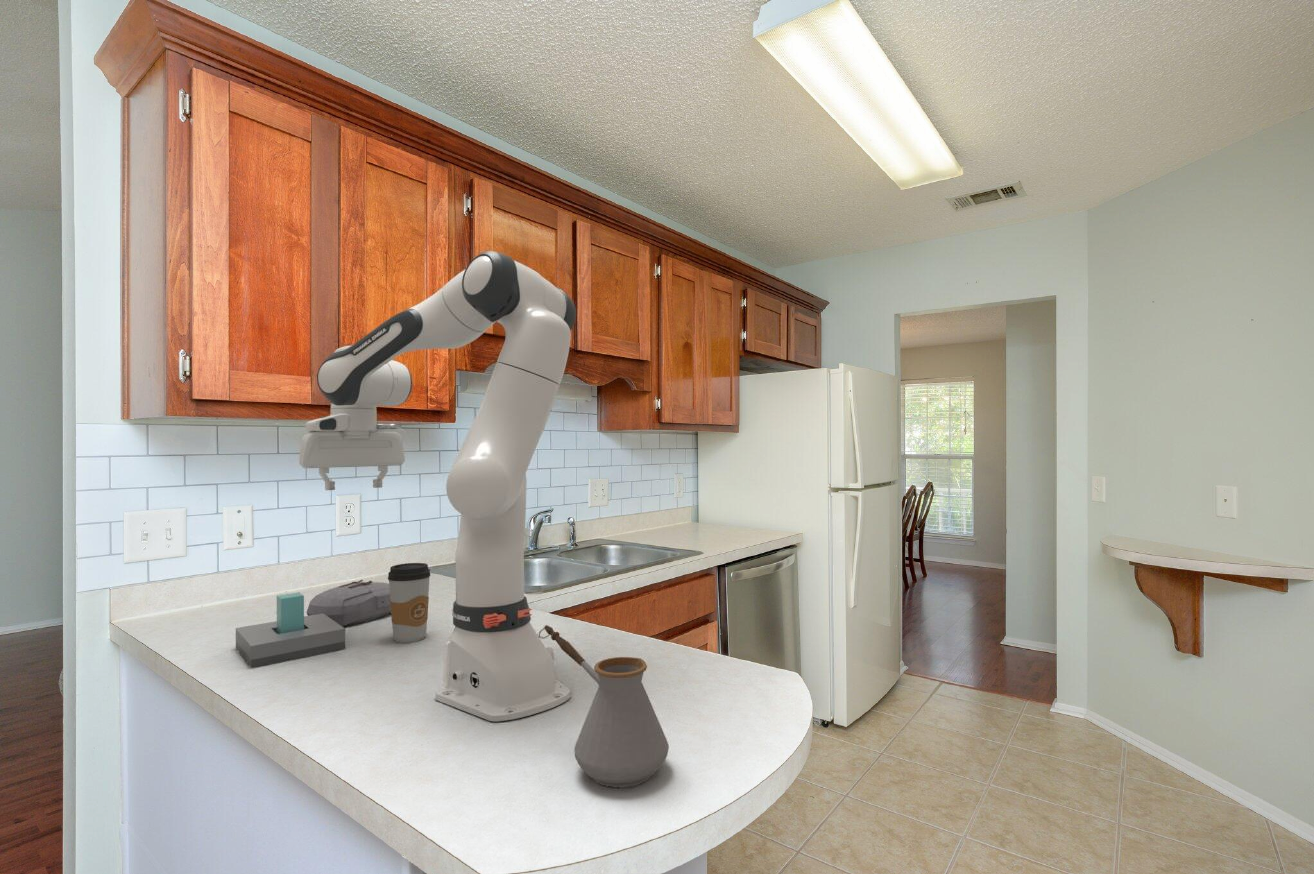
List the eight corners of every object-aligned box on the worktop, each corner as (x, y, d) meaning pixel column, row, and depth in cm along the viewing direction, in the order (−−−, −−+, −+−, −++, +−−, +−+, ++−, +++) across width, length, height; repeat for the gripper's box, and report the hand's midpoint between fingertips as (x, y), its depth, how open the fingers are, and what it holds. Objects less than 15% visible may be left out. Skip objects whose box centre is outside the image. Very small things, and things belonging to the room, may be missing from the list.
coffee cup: (402, 647, 128) (402, 571, 128) (380, 639, 133) (379, 567, 133) (439, 636, 135) (438, 565, 135) (416, 630, 140) (415, 561, 140)
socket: (345, 648, 128) (345, 628, 128) (251, 668, 117) (250, 646, 117) (323, 631, 140) (322, 613, 140) (235, 648, 129) (235, 628, 129)
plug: (304, 640, 128) (303, 595, 128) (281, 645, 125) (281, 598, 126) (299, 636, 131) (299, 592, 131) (276, 640, 128) (276, 595, 129)
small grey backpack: (365, 606, 163) (290, 626, 145) (365, 573, 163) (290, 589, 145) (409, 612, 156) (336, 634, 138) (409, 577, 156) (336, 595, 138)
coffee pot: (688, 769, 79) (686, 646, 79) (619, 809, 70) (617, 670, 70) (577, 719, 93) (576, 615, 93) (509, 747, 85) (507, 633, 85)
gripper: (398, 424, 145) (399, 485, 145) (296, 423, 132) (297, 490, 132) (409, 423, 140) (409, 486, 140) (304, 422, 127) (305, 492, 127)
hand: (354, 488), depth 136 cm, fingers open, 8 cm apart
